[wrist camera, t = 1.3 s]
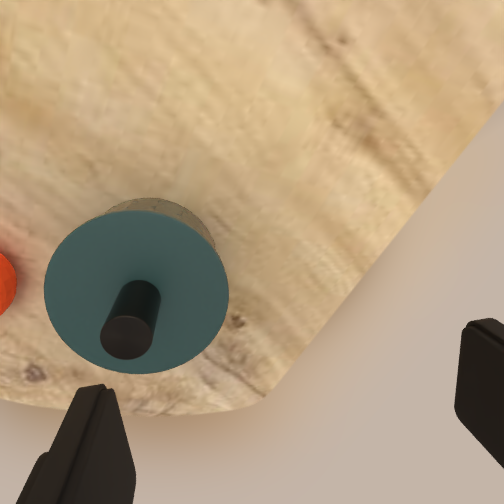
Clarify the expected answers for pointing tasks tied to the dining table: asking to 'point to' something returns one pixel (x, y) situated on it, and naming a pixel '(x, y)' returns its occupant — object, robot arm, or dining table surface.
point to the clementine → (6, 283)
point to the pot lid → (136, 291)
